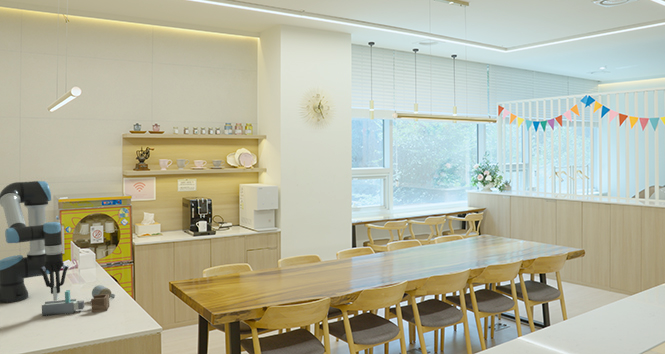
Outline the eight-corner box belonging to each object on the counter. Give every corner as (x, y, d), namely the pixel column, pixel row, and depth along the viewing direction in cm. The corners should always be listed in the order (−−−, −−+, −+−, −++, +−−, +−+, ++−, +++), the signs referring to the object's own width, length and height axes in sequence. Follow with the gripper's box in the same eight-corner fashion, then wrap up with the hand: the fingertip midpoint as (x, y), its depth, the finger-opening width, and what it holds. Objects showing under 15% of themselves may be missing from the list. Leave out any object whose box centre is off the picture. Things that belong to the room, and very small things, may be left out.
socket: (94, 307, 253) (94, 295, 252) (109, 305, 255) (108, 293, 254) (91, 312, 245) (91, 299, 245) (106, 310, 247) (106, 298, 247)
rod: (45, 310, 244) (44, 292, 244) (84, 307, 249) (83, 288, 249) (42, 313, 241) (41, 294, 241) (82, 309, 246) (81, 290, 245)
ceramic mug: (99, 303, 260) (99, 288, 259) (91, 300, 265) (91, 286, 264) (118, 298, 268) (117, 284, 268) (110, 295, 273) (109, 282, 273)
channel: (46, 312, 246) (45, 301, 246) (76, 309, 250) (76, 299, 249) (42, 316, 240) (41, 305, 239) (73, 313, 244) (72, 302, 243)
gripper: (36, 255, 237) (39, 303, 239) (66, 253, 241) (68, 300, 242) (41, 252, 244) (43, 298, 246) (69, 250, 248) (72, 296, 249)
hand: (55, 299), depth 244 cm, fingers closed
